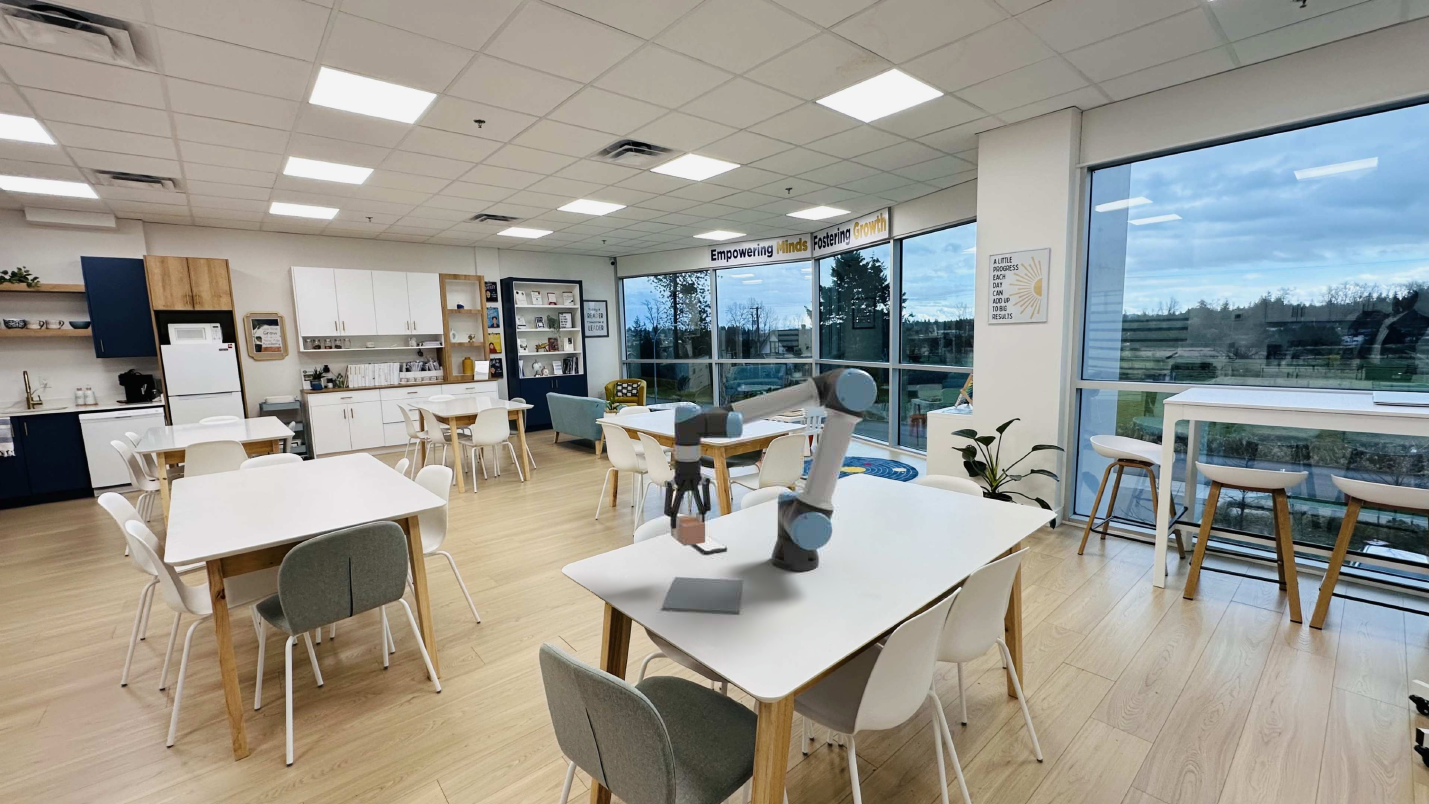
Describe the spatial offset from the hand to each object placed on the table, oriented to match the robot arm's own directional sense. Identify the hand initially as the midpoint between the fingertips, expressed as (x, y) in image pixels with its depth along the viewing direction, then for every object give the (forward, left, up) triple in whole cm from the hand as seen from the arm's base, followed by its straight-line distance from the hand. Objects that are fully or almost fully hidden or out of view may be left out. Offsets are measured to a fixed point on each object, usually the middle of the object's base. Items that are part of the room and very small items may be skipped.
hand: (687, 537), depth 162 cm
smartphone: (-2, -32, -15) cm, 36 cm away
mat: (-6, +8, -14) cm, 17 cm away
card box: (0, 0, -1) cm, 1 cm away
